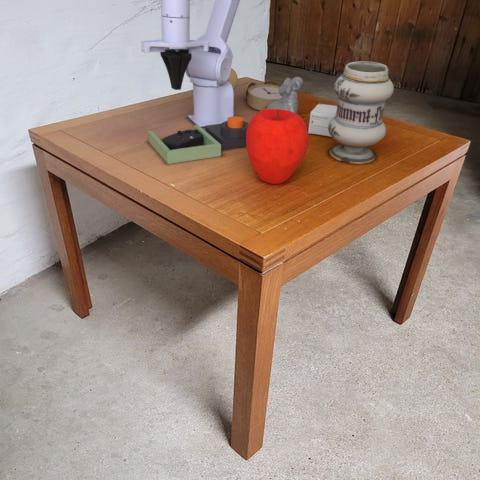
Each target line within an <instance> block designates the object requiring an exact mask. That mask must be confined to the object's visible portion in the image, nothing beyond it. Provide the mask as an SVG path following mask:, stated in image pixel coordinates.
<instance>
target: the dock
mask: <svg viewBox="0 0 480 480" xmlns="http://www.w3.org/2000/svg"><path fill="white" fill-rule="evenodd" d="M195 129H197V130H199V132H200V133H201V134H202V135H203V137H204V139H203V146H198V145H194V146H190V147H188V148H181V149H169V148H168V147H167V146H166V145H165V144H164V143H163V142H162V141H161V140H162V139H160V137H159V136H158V135H157V134H156V133H155V132H154V131H153V130H147V137H148V143H149V144H150V145H151V146H152V147H153V149H154V150H155V151H156V152H157V153H158V154H159V156H160V157H161V158H162V159H163V160H164V161H165V162H166V164H167V165H171V164H177V163H178V164H179V163H184V162H191V161H198V160H204V159H211V158H216V157H217V158H219V157H222V150H221V144H220V143H219V142H217V141H216V140H215V139H214V138H213V137H212V136H211V135H209V134H208V133H207V132H206V131H205V128H204V127H200V126H199V125H196V124H193V130H195Z"/></svg>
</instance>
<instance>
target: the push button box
mask: <svg viewBox="0 0 480 480" xmlns="http://www.w3.org/2000/svg"><path fill="white" fill-rule="evenodd" d="M249 123H250V122H247V121H244V125H243V127H242V128H229V127H227V121H225V122H223V123H221V124H215V125H207V126H205V127H204V130H205V131H206V132H207V133H208V134H209V135H211V136H212V137H213V138H214V139H215V140H216V141H217V142H219V143H220V144H221V151H225V150H227V151H228V150H232V149H233V150H234V149H239V148H246V131H247V128H248V125H249Z"/></svg>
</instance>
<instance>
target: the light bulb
mask: <svg viewBox="0 0 480 480" xmlns="http://www.w3.org/2000/svg"><path fill="white" fill-rule="evenodd" d="M227 81H229V82H230V83H231V85H232V88H233V92H234V91H235V90H236V88H237V87H238V82H239V78H238V74H237V71H236V70H235V69H234V68H232V67H231V73H230V76H229V78H228V80H227Z"/></svg>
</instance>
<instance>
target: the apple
mask: <svg viewBox="0 0 480 480" xmlns="http://www.w3.org/2000/svg"><path fill="white" fill-rule="evenodd" d="M298 114H299V113H298ZM298 114H296V113H294V112H291V111H287V110H282V109H264V110H258V112H256V113H255V114H254V116H253V117H251V118H252V119H251V120H250V121H249V122H248V123H249V125H248V128H247V131H246V147H245V148H246V152H247V155H248V159H249V162H250V164H251V166H252V168H253V170H254V172H255V173H256V175H257V176H258V178H259V179H260V181H262V182H264V183H266V184H270V185H280V184H283V183H284V182H286V181H288V180H289V179H290V177H292V175H293V174H294V173H295V172H296V170H297V169H298V167H300V166H299V165H300V164H301V163H302V162H303V160H304V157H305V155H306V153H307V151H308V148H309V145H310V134H309V133H308V126H307V124H306V122H305V121H304V119H303V117H302V116H300V115H298Z"/></svg>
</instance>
